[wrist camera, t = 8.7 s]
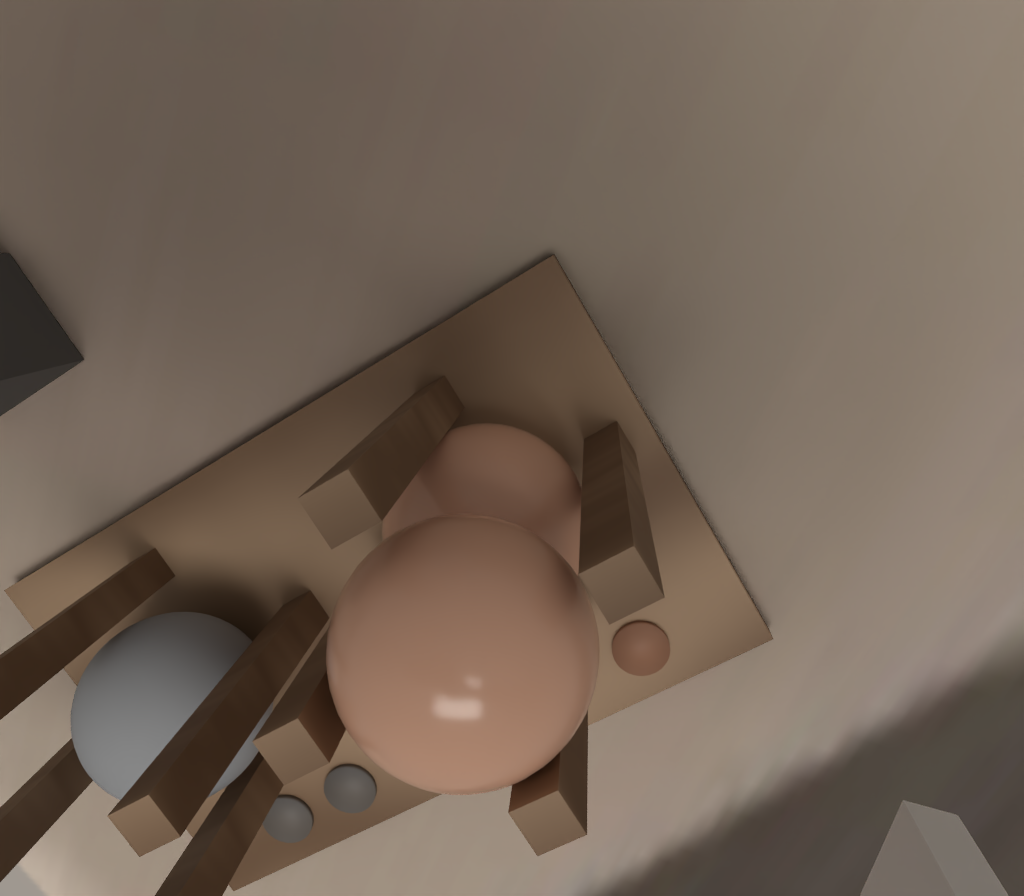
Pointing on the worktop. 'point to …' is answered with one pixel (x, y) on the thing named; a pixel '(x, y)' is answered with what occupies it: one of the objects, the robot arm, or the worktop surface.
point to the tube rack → (330, 562)
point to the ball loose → (462, 654)
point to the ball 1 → (152, 695)
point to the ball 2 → (496, 485)
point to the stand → (28, 339)
